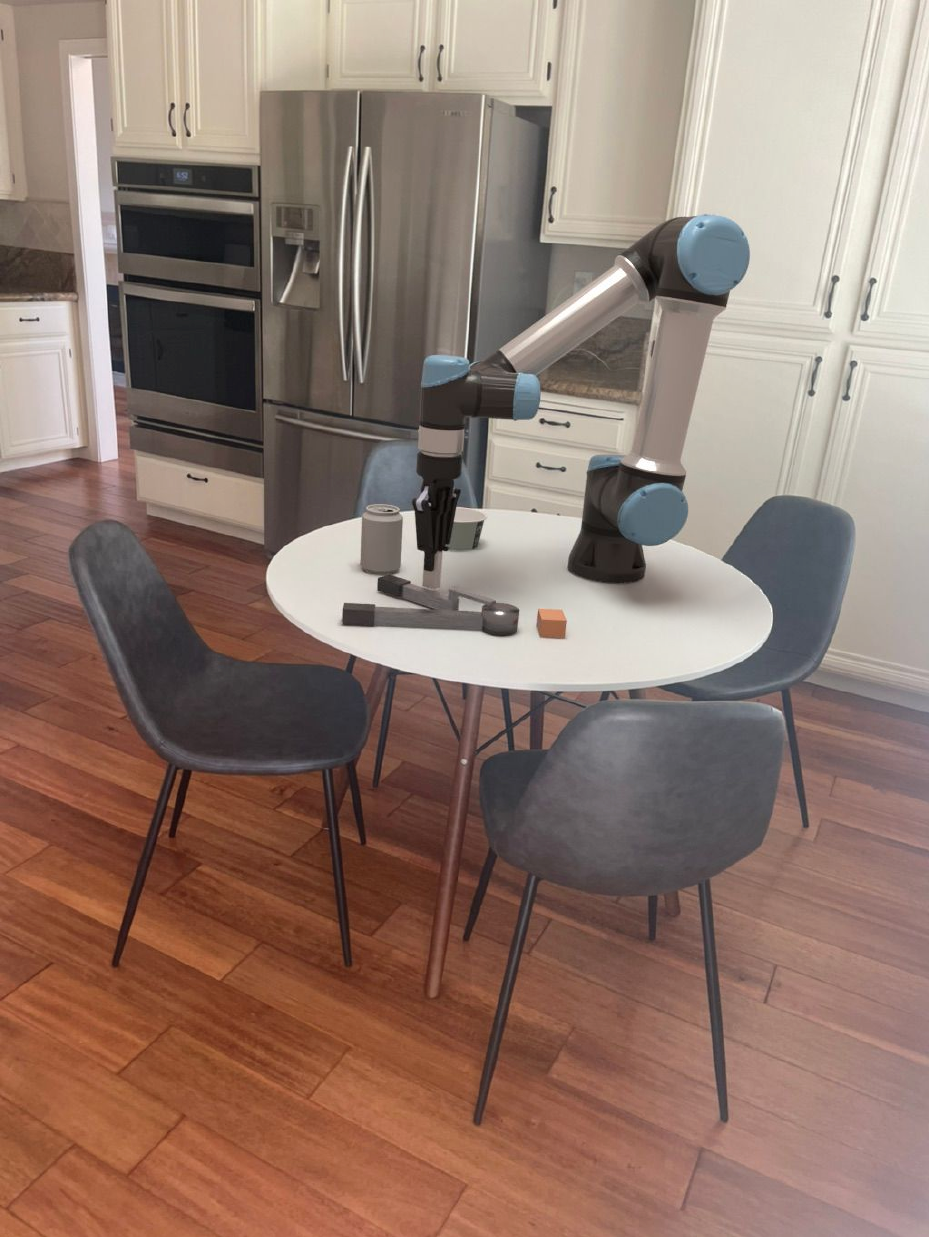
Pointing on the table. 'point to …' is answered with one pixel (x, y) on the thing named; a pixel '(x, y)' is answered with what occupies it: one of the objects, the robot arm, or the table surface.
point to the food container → (466, 529)
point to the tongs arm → (427, 594)
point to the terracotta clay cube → (551, 623)
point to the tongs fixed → (435, 618)
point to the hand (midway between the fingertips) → (431, 586)
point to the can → (381, 539)
